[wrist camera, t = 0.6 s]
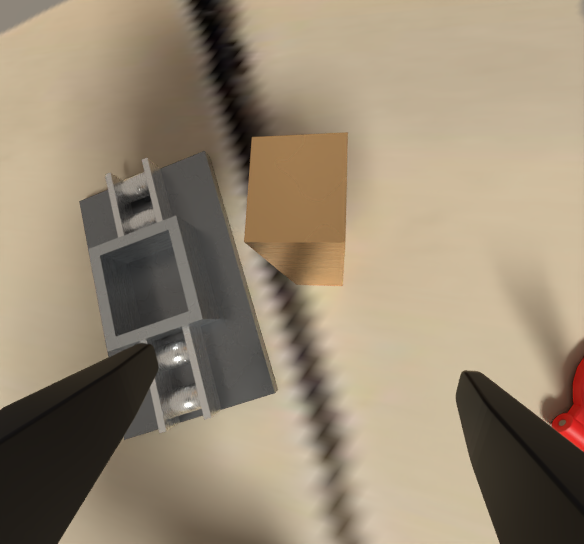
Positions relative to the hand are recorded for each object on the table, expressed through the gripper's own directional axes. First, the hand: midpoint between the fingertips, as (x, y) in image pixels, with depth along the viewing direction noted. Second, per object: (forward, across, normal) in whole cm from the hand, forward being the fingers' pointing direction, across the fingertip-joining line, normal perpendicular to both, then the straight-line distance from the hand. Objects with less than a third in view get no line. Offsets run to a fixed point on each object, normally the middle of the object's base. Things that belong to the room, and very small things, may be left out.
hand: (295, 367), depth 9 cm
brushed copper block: (+15, 0, +2) cm, 15 cm away
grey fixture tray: (+13, +12, +5) cm, 19 cm away
